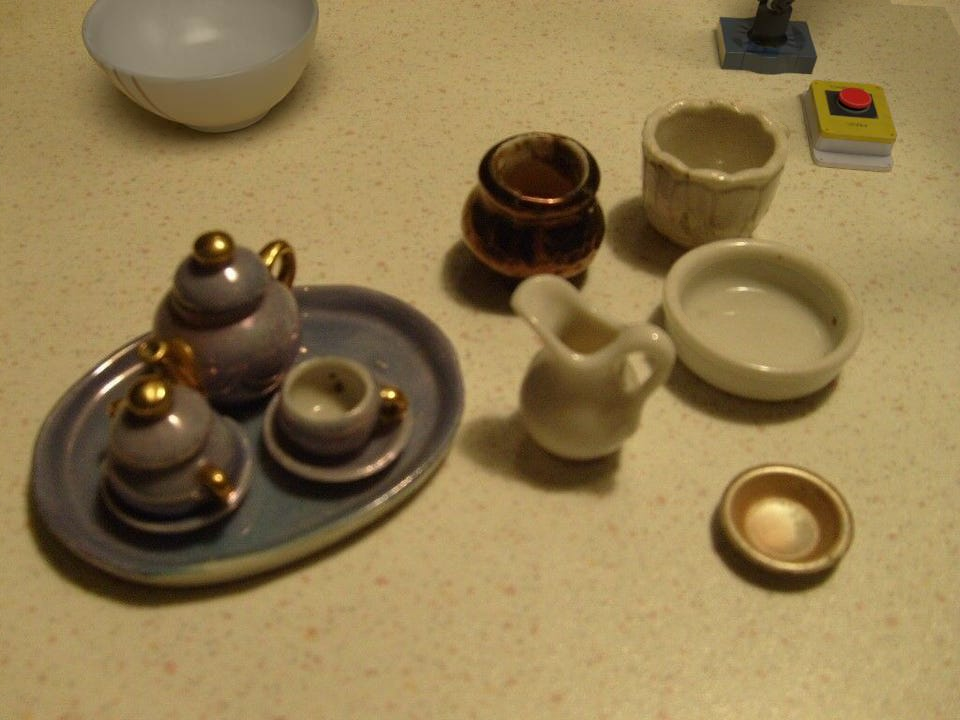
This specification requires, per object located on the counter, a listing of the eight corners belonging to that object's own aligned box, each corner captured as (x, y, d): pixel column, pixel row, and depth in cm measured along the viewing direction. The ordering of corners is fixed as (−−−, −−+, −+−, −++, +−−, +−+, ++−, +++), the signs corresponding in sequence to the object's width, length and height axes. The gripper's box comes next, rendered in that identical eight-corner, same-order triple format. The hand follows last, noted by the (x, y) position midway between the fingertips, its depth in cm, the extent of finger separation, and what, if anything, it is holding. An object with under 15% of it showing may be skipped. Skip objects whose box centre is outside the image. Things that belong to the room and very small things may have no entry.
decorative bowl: (89, 171, 100) (51, 80, 90) (141, 46, 117) (113, -43, 107) (320, 170, 100) (306, 79, 91) (338, 46, 117) (327, -42, 108)
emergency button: (885, 69, 108) (908, 142, 98) (872, 99, 111) (893, 172, 102) (810, 63, 108) (825, 135, 99) (799, 93, 112) (813, 165, 102)
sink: (800, 35, 121) (806, 18, 119) (812, 76, 114) (818, 59, 112) (714, 30, 121) (718, 14, 119) (721, 71, 115) (726, 54, 113)
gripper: (816, -154, 106) (719, -33, 112) (904, -112, 99) (795, 15, 105) (832, -118, 112) (739, -5, 118) (916, -76, 105) (813, 43, 110)
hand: (766, 4), depth 111 cm, fingers closed on stopper, 2 cm apart
